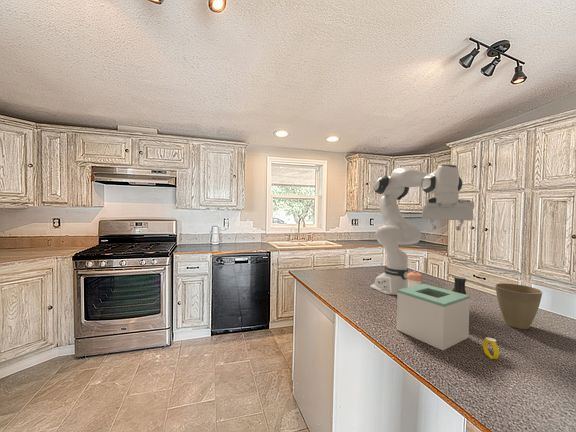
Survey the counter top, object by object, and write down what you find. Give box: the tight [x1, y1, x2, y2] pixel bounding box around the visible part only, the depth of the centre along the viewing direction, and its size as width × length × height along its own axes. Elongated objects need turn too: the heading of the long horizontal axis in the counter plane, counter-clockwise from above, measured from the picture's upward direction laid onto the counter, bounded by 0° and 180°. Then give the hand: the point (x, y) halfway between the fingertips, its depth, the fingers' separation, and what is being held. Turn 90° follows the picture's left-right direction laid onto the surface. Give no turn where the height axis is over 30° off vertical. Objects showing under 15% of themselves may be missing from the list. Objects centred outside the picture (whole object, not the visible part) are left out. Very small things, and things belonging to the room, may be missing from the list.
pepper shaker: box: [407, 270, 424, 287], centre depth 124 cm, size 7×7×19 cm
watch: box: [482, 336, 500, 360], centre depth 86 cm, size 6×3×6 cm, turn 173°
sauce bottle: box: [451, 276, 468, 295], centre depth 110 cm, size 7×6×20 cm
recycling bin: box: [396, 283, 471, 351], centre depth 101 cm, size 18×18×16 cm
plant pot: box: [494, 282, 543, 330], centre depth 110 cm, size 15×15×16 cm
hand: (446, 229), depth 120 cm, fingers open, 8 cm apart
